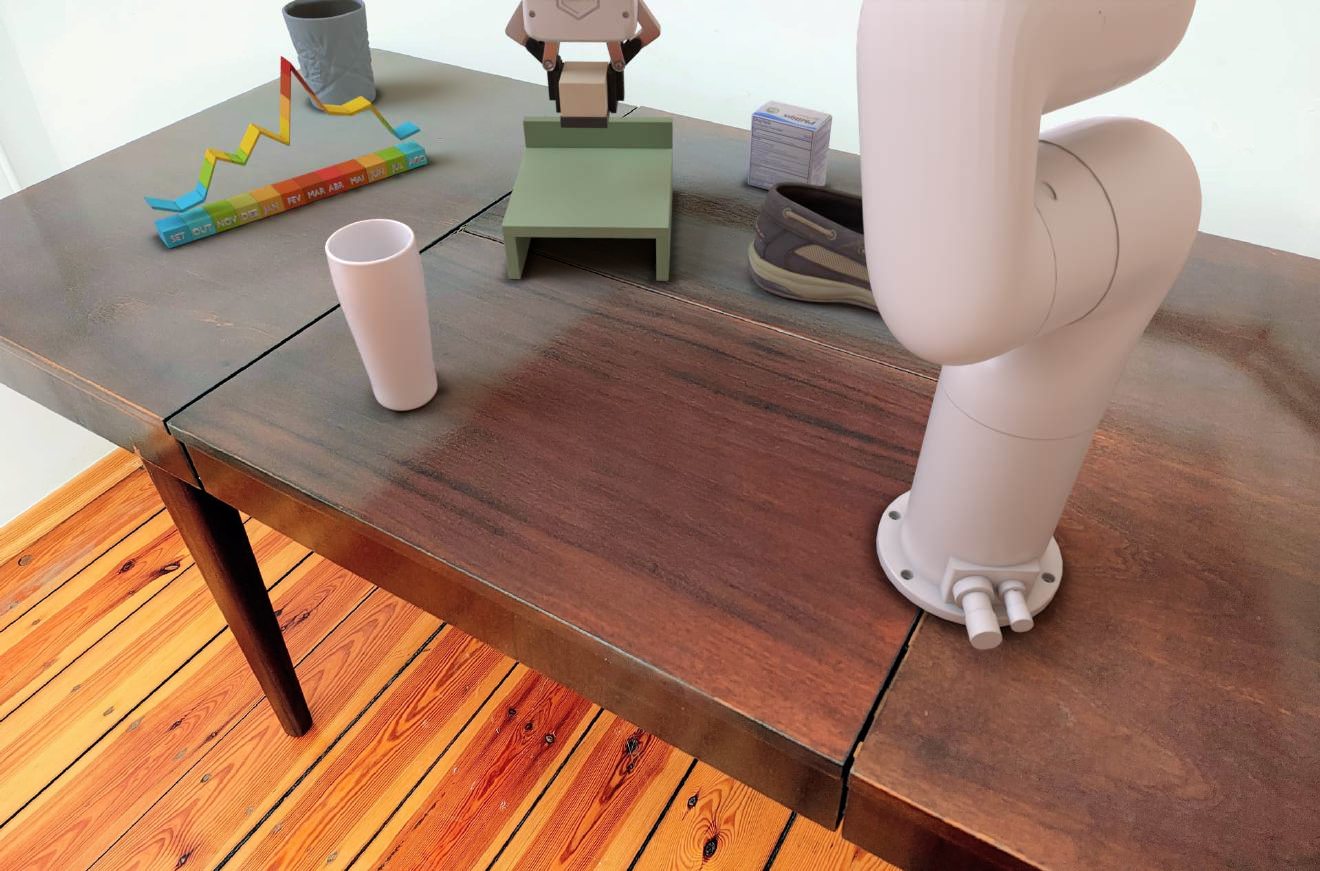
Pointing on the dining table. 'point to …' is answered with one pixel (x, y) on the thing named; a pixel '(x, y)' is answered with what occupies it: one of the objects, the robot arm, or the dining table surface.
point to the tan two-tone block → (584, 95)
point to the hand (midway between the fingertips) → (587, 105)
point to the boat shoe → (811, 245)
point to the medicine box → (788, 145)
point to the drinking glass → (386, 308)
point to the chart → (288, 191)
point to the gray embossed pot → (332, 48)
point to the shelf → (592, 185)
